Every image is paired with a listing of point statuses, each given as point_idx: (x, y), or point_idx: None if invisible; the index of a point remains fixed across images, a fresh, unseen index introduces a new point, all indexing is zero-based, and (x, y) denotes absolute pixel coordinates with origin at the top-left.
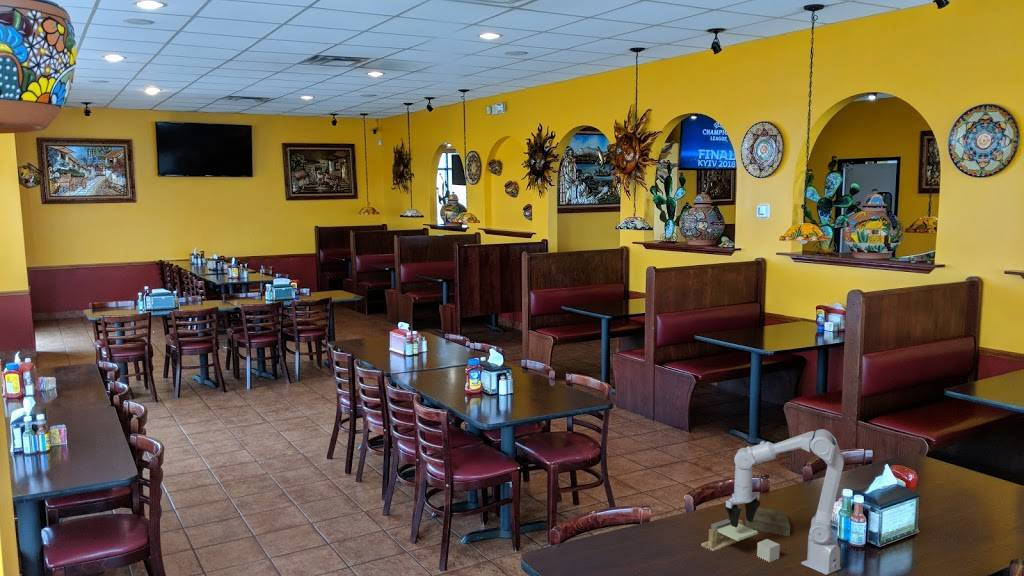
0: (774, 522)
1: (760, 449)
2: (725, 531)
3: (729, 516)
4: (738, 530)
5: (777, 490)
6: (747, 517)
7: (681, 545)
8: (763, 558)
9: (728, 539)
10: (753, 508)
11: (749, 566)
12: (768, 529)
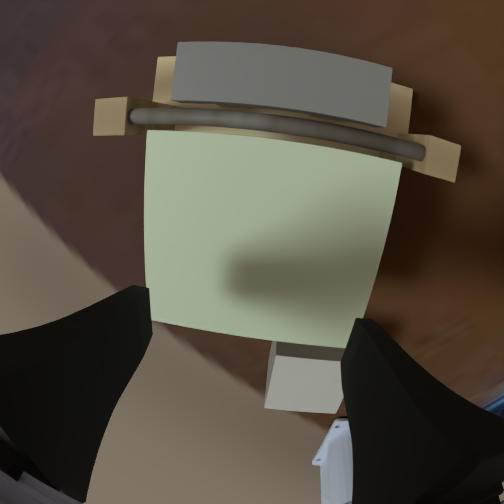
0: None
1: None
2: (166, 196)
3: (66, 322)
4: (266, 254)
5: None
6: (360, 345)
7: (103, 17)
8: (272, 341)
9: (325, 119)
10: (357, 487)
11: (174, 328)
12: None
